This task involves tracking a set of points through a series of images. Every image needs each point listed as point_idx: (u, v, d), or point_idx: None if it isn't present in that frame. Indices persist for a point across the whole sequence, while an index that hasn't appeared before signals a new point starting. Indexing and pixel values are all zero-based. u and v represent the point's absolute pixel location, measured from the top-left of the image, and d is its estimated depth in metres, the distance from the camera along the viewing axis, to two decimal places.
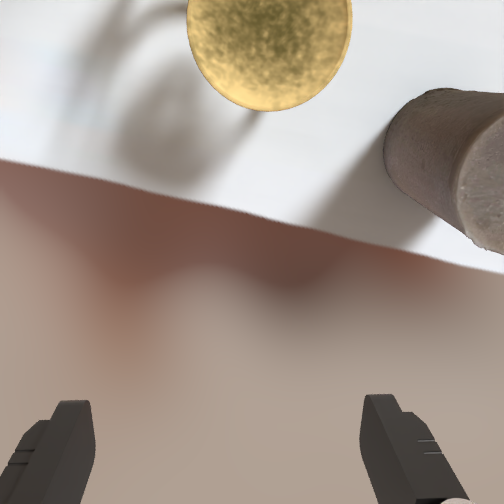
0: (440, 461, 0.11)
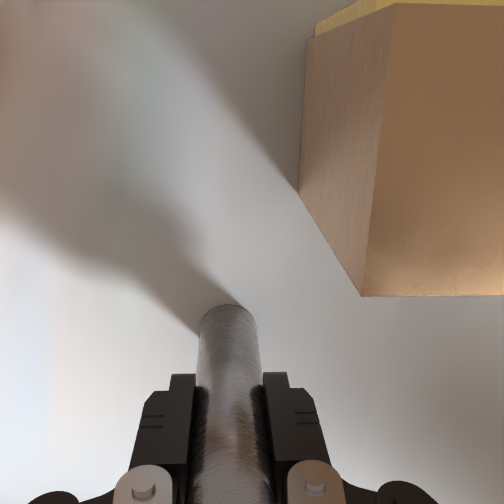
0: (315, 430, 0.12)
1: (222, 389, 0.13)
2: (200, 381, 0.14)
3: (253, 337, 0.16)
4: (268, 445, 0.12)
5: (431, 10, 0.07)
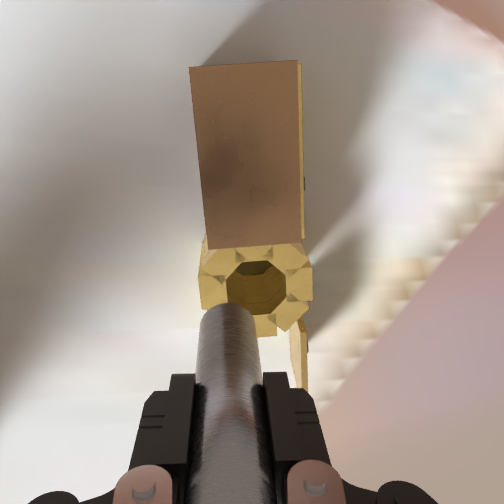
0: (315, 430, 0.12)
1: (221, 386, 0.13)
2: (200, 379, 0.14)
3: (253, 335, 0.16)
4: (267, 443, 0.12)
5: (295, 73, 0.21)
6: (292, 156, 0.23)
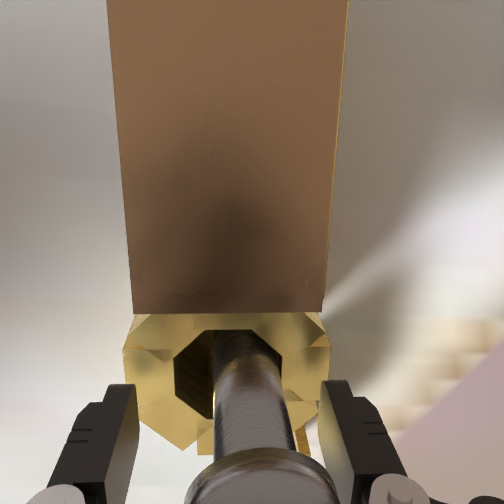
0: (385, 442, 0.12)
1: (238, 333, 0.16)
2: (219, 330, 0.17)
3: None
4: (278, 373, 0.15)
5: None
6: (321, 137, 0.11)
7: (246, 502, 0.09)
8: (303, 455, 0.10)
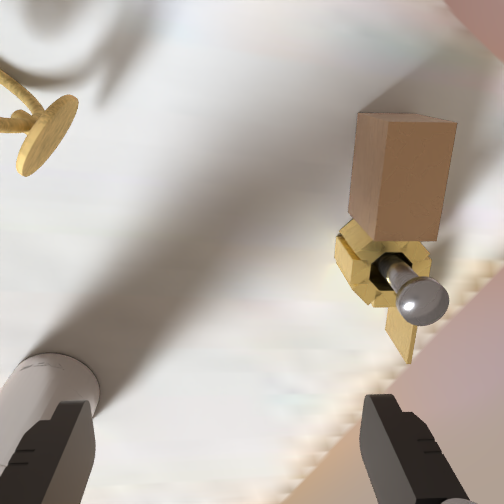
0: (440, 461, 0.11)
1: (391, 255, 0.39)
2: None
3: None
4: None
5: (454, 130, 0.33)
6: (442, 183, 0.34)
7: (421, 287, 0.33)
8: (434, 279, 0.34)
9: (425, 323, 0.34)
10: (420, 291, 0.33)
